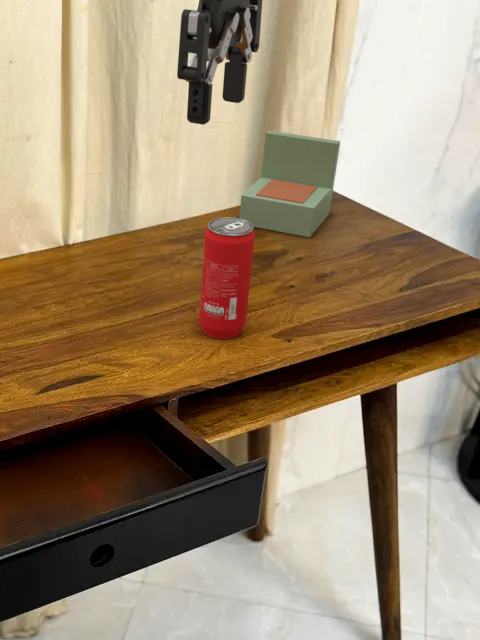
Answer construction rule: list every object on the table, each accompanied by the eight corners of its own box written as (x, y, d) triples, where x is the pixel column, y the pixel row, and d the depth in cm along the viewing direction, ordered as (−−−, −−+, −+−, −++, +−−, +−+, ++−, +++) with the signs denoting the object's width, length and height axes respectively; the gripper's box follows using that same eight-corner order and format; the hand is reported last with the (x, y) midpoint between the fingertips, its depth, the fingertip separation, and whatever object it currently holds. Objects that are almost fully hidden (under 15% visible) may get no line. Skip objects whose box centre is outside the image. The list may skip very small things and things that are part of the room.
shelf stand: (329, 214, 136) (340, 141, 130) (309, 237, 130) (320, 161, 124) (260, 202, 140) (268, 130, 134) (238, 224, 134) (245, 149, 128)
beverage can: (188, 327, 110) (195, 224, 103) (221, 314, 113) (230, 212, 105) (221, 345, 107) (230, 239, 100) (254, 331, 110) (266, 227, 102)
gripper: (235, -58, 84) (221, 137, 94) (296, -79, 94) (276, 99, 104) (157, -65, 87) (151, 125, 97) (223, -85, 97) (211, 89, 107)
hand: (216, 111), depth 100 cm, fingers open, 8 cm apart
